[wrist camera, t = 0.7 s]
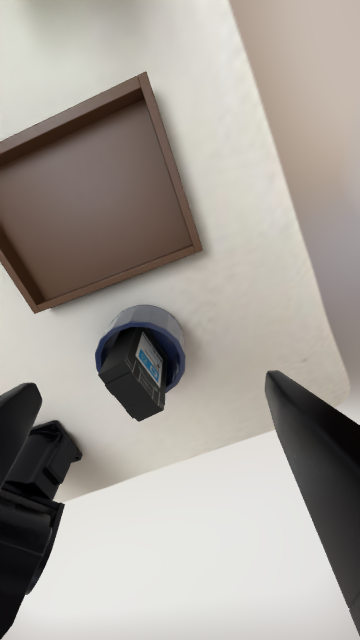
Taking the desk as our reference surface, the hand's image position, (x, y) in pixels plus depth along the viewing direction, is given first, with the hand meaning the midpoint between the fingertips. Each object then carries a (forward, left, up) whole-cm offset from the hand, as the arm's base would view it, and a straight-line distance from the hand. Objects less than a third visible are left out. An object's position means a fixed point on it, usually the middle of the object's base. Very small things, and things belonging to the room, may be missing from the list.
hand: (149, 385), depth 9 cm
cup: (-4, -4, -14) cm, 15 cm away
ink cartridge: (-4, -4, -14) cm, 15 cm away
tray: (-3, +8, -14) cm, 16 cm away
